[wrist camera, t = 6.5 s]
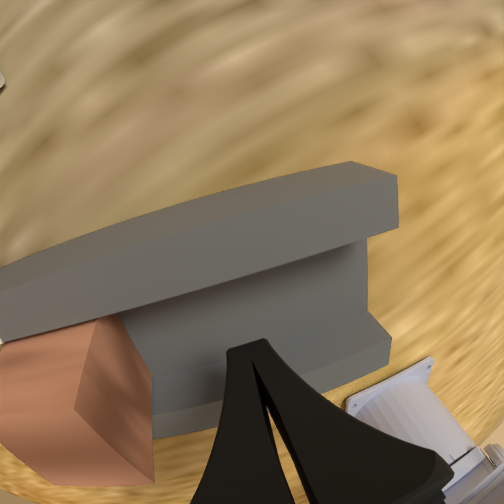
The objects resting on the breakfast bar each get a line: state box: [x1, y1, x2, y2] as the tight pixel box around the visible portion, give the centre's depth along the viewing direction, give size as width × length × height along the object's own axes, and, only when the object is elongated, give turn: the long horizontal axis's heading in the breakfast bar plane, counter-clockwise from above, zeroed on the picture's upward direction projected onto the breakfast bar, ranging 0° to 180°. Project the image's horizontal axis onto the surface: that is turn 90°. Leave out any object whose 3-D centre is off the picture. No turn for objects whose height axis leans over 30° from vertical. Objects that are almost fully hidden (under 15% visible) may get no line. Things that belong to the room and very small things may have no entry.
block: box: [0, 313, 155, 487], centre depth 9 cm, size 5×5×6 cm
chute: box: [0, 161, 399, 440], centre depth 12 cm, size 10×18×3 cm, turn 102°
